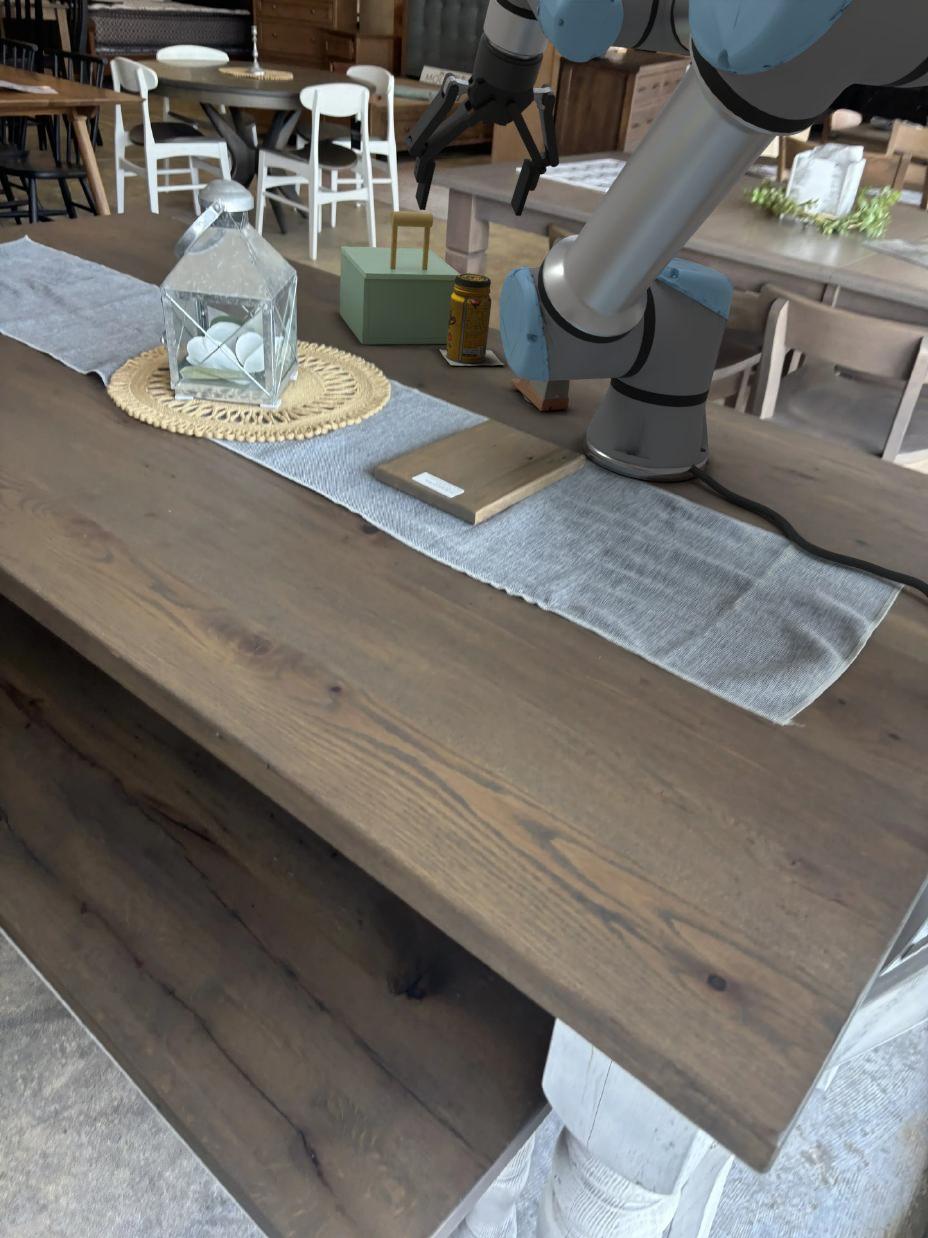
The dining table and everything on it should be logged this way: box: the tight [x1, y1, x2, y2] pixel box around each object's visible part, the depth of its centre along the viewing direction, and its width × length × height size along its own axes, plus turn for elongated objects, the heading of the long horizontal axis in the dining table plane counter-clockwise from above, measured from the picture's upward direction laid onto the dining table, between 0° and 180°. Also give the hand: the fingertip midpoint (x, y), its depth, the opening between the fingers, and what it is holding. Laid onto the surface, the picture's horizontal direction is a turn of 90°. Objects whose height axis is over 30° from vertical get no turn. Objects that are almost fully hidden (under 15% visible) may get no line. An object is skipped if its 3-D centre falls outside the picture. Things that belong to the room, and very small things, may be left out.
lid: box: [340, 210, 460, 280], centre depth 139 cm, size 17×15×9 cm
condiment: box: [439, 272, 505, 367], centre depth 135 cm, size 7×8×12 cm
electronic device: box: [510, 377, 570, 412], centre depth 125 cm, size 4×10×8 cm, turn 25°
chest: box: [339, 251, 455, 345], centre depth 145 cm, size 16×15×10 cm
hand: (468, 206), depth 121 cm, fingers open, 13 cm apart
